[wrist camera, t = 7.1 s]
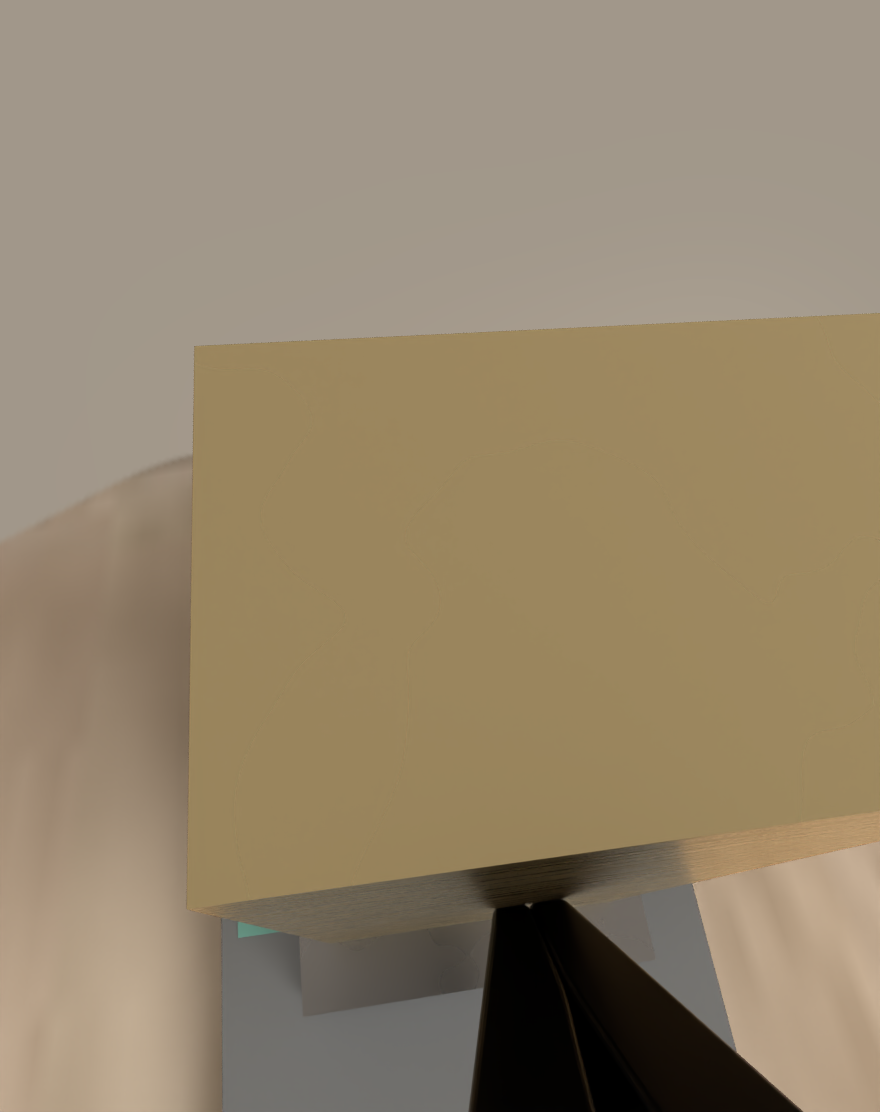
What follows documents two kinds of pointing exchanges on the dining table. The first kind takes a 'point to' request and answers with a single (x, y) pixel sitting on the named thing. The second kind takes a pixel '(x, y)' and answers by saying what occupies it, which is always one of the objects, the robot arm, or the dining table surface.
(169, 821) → the dining table surface
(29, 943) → the dining table surface
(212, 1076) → the dining table surface
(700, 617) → the lever
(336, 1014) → the rail
